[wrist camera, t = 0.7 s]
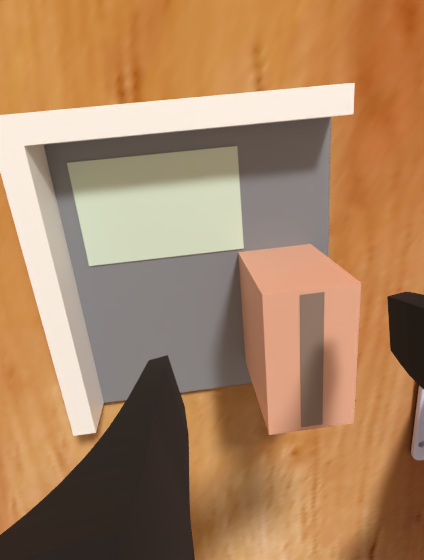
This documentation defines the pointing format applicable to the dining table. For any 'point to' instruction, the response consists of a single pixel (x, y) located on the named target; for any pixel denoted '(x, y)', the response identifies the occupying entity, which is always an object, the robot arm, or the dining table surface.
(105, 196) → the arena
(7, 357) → the dining table surface
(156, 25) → the dining table surface
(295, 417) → the block
